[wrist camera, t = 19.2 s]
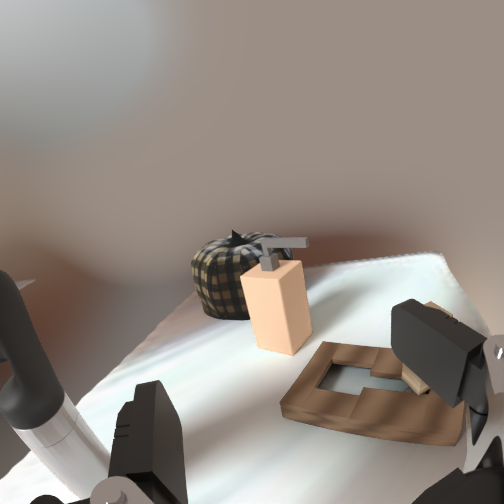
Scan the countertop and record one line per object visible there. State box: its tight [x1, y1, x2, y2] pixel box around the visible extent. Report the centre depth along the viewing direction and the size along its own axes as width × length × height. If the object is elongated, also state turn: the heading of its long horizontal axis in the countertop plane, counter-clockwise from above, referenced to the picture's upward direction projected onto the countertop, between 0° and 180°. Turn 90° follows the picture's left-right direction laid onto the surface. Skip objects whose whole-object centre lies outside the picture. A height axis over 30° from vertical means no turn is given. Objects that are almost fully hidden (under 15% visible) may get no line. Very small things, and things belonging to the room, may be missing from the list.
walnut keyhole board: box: [280, 341, 465, 446], centre depth 39 cm, size 26×16×4 cm, turn 56°
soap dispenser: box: [240, 237, 312, 356], centre depth 57 cm, size 13×9×22 cm
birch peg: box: [402, 302, 453, 395], centre depth 34 cm, size 5×5×16 cm
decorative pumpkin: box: [191, 230, 294, 320], centre depth 84 cm, size 30×29×20 cm
